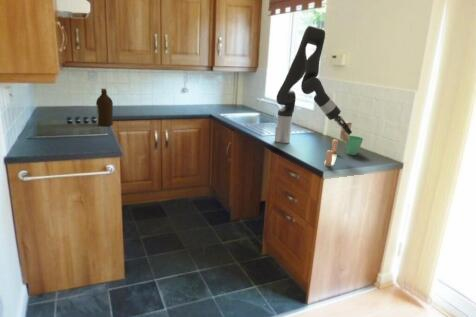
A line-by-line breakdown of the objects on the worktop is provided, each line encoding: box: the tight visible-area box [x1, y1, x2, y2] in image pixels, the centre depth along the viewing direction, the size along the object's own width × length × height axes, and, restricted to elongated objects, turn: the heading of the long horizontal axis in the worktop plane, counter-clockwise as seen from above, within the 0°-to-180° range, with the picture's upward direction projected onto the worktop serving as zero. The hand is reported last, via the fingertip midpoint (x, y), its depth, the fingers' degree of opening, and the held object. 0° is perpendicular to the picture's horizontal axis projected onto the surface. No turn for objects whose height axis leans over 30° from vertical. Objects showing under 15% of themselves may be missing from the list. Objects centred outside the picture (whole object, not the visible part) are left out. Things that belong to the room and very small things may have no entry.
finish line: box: [323, 139, 339, 168], centre depth 201 cm, size 5×31×8 cm, turn 160°
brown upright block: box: [339, 121, 353, 143], centre depth 196 cm, size 5×5×10 cm
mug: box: [345, 135, 364, 156], centre depth 217 cm, size 15×10×10 cm
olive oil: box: [95, 88, 114, 127], centre depth 249 cm, size 11×11×25 cm
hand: (348, 132), depth 196 cm, fingers closed on brown upright block, 5 cm apart
